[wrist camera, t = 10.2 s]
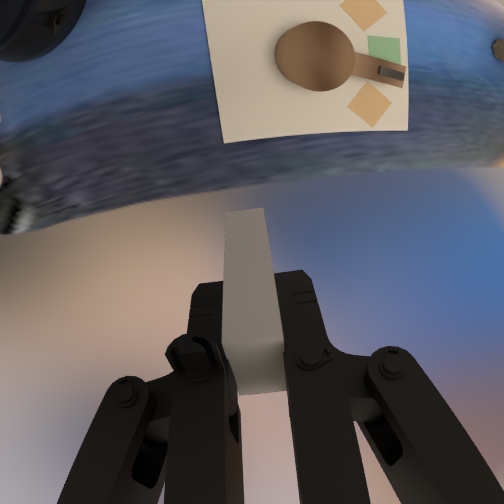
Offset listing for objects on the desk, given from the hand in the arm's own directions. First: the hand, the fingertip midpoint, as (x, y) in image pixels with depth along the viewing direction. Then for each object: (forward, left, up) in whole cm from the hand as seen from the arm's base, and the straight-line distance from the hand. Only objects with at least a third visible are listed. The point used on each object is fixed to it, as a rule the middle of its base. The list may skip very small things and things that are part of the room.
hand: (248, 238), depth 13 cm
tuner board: (-7, +9, -24) cm, 27 cm away
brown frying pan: (-6, +11, -23) cm, 26 cm away
